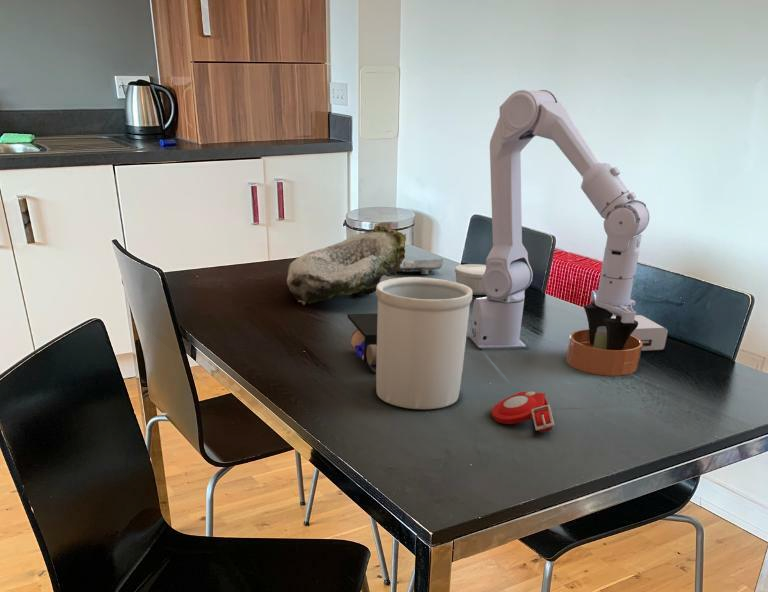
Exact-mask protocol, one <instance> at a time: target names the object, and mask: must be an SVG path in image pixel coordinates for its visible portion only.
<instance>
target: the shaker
mask: <svg viewBox="0 0 768 592" xmlns="http://www.w3.org/2000/svg"><path fill="white" fill-rule="evenodd" d="M606 347H607V330H606V326H600V327H598V328H597V331H596V333H595V339H594V345H593V348H599V349H606Z"/></svg>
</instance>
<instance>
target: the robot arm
mask: <svg viewBox="0 0 768 592" xmlns="http://www.w3.org/2000/svg"><path fill="white" fill-rule="evenodd" d="M536 136H537V137H539V138H540V137H541V138H544V139H547V140H551V141H553V142H554V143H555V145H556V146H557V147H558V148H559V150H560V151H561V153H563V155H564V156H565V158H567V160H568V161H569V162H570V164H571V165H572V166H573V167H574V168H575V170H576V171H577V172H578V173H579V174H580V176H581V182H580V189H581V190H582V192H583V193H584V194H585V196H586V198H587V199H588V200H589V201H590V203H591V204H592V206H593V207H594V209H595V210H596V211H597V213H598V214H599V216H600V217H601V218H603V219H604V220H603V229H604V232H605V234H606V242H605V247H604V253H603V258H602V263H601V271H600V276H599V283H598V287H597V288H598V289H597V290H596V289H595V290H591V293H590V302H591V304H585V305H584V306H583V309H584V312H585V314H586V318H587V323H588V329H589V338H590V344H591V345H594V339H595V333H596V331H597V328H598V327H600V326H606V330H607V347H606V350H623V348H624V345H625V343H626V341H627V340H628V338H629V336H630V335H631V334H632V332H633V331H634V330H635V329H636V328H637V327H638V322H637V321H636V320H634V319H635V315H637V312H636V311H635V310H634V309H633V307H634V306H636V300H634V299H632V298H631V296H632V293H633V292H632V290H633V285H634V280H635V275H636V270H637V265H638V259H639V255H640V246H641V241H642V237H643V234H641V233H643V232H644V231H645V230H646V229H647V227H648V225H649V223H650V212H649V209H648V208H647V204H646V203H645V202H644V201H641V200H639V199H636V198H637V196H636V194H635V192H633V191H632V192H631V191H630V190H629V189H628V188H627V186H626V185H625V183H624V182H623V181H622V179H621V178H620V176H619V175H620V174H621V170H619V168H618V167H617V166H614V167H612V165H611V164H610V163H604V162H603V163H602V162H599V160H598V159H597V157H596V156H595V154H594V153H593V151H592V149H591V148H590V147H589V145H588V143H587V142H586V140H585V139H584V137H583V135H582V134H581V132H580V131H579V129H578V128H577V126H576V125H575V123H574V121H573V120H572V118H571V117H570V115H569V113H568V111H567V108H566V107H565V106H564V105H563V103H562V102H559V100H558V98H557V96H556V94H554V93H553V92H552V91H550V90H547V89H539V90H526V89H520V90H519V89H518V90H516V91H514V92H513V93H511V94H510V95H509V96H508V97H507V98H506V99H505V101H503V103H502V104H501V105H500V106H499V117H498V119H497V122H496V124H495V127H494V130H493V132H492V135H491V137H490V141H489V161H490V162H489V167H490V200H491V227H492V229H491V230H492V246H491V249H490V251H489V253H488V255H487V257H486V259H485V265H486V270H485V273H484V275H483V279H482V285H483V289H484V291H485V293H486V294H487V295H485V296H483V297H476V298H475V299H474V301H473V304H472V310H471V321H470V322H471V323H470V332H469V335H468V337H469V338H470V340H471V341H472V342H473V343H474V344H475V346H476V347H477V348H478V349H480V350H481V349H489V348H490V349H497V348H499V349H501V348H506V349H507V348H526V347H527V345H526V344H525V343H524V342H523V341H522V340H521V339H520V338H521V329H522V323H523V313H524V307H525V306H524V305H525V297H526V295H525V293H526V290H527V289H528V288H529V287H530V285H531V283H532V282H533V277H534V275H533V274H534V273H533V269H532V266H531V264H530V262H529V253H528V250H527V249H526V246H524V244H523V223H522V222H523V218H522V174H521V173H522V171H521V170H522V167H521V165H522V164H521V158H522V157H521V152H522V151H523V150H524V149H525V148H526V147H527V145H528V144H529V143H530V142H531V141H532V140H533V139H534V138H535V137H536ZM612 316H616V319H615V318H611V317H612Z"/></svg>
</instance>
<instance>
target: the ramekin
mask: <svg viewBox="0 0 768 592" xmlns="http://www.w3.org/2000/svg"><path fill="white" fill-rule="evenodd" d="M485 270H486V264H481V263H479V264H478V263H476V264H475V263H467V264H459V265H457V266H455V267H454V273H455V282H456V283H460V284H463V285H466V286H468V287H469V288H471V289H472V291H473V295H474V296H487V294H486V293H485V291H484V289H483V285H482V279H483V275H484V273H485ZM473 295H472V296H473Z"/></svg>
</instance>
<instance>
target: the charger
mask: <svg viewBox="0 0 768 592" xmlns="http://www.w3.org/2000/svg"><path fill="white" fill-rule="evenodd" d="M611 318H615V319H616V315H612V317H611ZM634 320H636V321H637V322H638V327H637V328H636V329H635V330H634V331H633V332H632V334H631V335H632V336H634V337H637V338H638V339H639V340H641V342H642V344H643V345H642V350H641V352H642V351H661V350H664V349H665V346H666V343H667V337H668V332H669V330H668V329H667V328H666V327H664V326H662V325H660V324H658V323H657V322H654V321H653V320H651V319H649V318H648V317H646V316H644V315H642V314H635V319H634Z"/></svg>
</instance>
